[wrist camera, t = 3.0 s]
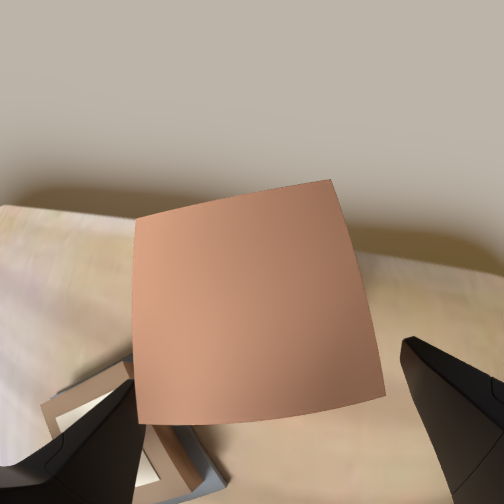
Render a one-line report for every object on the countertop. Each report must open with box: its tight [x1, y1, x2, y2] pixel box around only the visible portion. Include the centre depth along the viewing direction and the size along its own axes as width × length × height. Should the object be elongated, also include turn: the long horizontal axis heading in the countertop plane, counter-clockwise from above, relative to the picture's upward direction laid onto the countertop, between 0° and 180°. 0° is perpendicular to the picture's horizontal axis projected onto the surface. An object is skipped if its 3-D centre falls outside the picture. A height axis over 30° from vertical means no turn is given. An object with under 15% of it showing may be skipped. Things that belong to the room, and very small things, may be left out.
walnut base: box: [40, 353, 228, 504], centre depth 15 cm, size 11×11×3 cm
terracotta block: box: [132, 179, 386, 425], centre depth 12 cm, size 5×5×13 cm
